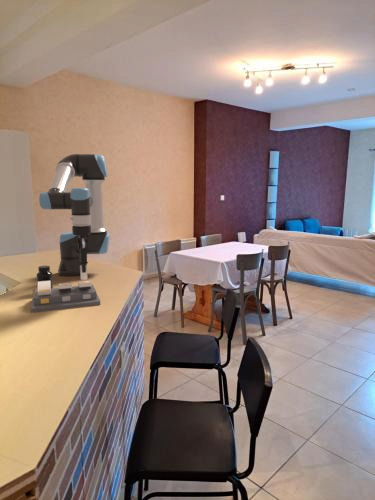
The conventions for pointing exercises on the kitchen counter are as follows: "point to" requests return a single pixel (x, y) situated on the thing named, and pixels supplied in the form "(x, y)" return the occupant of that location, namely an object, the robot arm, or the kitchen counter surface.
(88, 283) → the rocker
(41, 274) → the supplement bottle
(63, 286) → the rocker
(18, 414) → the kitchen counter surface
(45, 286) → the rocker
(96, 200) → the robot arm
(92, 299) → the switch unit
